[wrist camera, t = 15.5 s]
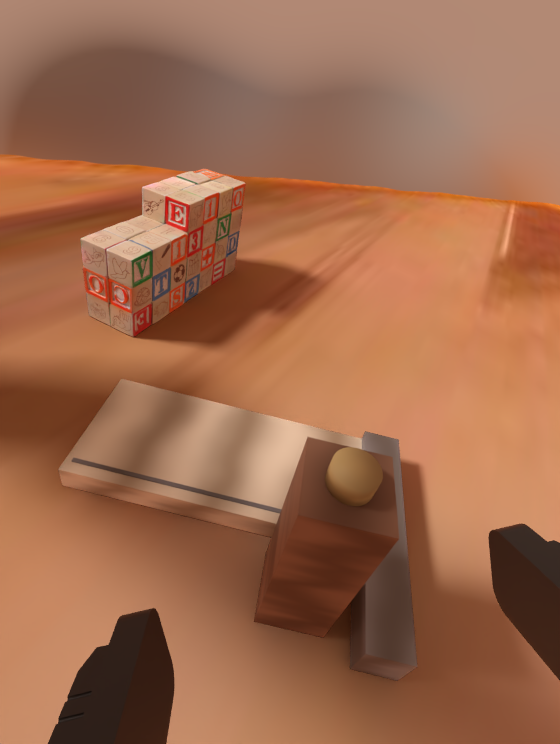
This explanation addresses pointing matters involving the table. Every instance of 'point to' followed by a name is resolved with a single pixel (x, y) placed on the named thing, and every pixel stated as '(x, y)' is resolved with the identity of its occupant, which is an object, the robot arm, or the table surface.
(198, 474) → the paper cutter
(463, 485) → the table surface
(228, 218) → the stack of blocks
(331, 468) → the brown pillar with knob
